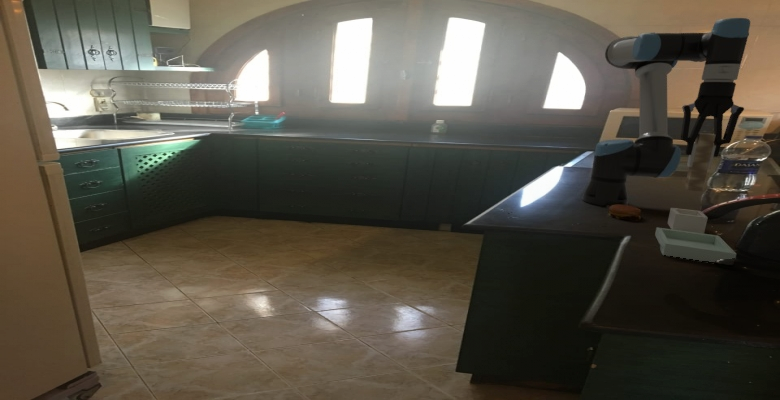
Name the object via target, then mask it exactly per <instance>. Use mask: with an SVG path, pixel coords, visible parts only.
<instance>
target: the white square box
mask: <svg viewBox="0 0 780 400" xmlns="http://www.w3.org/2000/svg"><path fill="white" fill-rule="evenodd" d="M669 210H670V211H669V214H668V218H667V219H668V220H667V225H668V226H669V229H672V230H680V231H687V232H695V233H702V234H705V232H706V227H707V222H708V216H707V215H706V214H705V213H704V212H702V210H696V209H695V210H694V209H685V208H677V207H670V209H669Z"/></svg>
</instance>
